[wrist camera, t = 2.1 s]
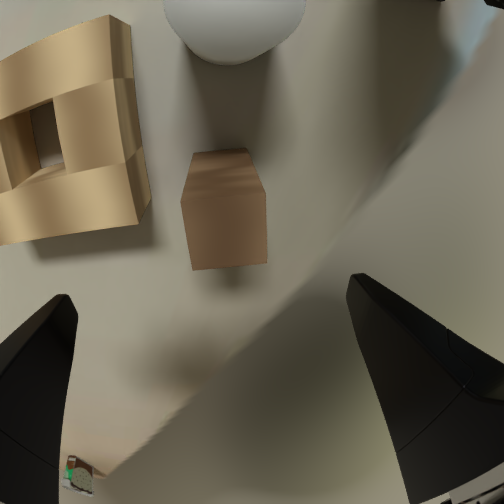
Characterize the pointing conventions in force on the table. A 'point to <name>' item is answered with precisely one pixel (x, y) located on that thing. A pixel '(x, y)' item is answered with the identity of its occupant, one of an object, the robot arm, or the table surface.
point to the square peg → (224, 210)
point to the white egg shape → (233, 26)
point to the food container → (78, 476)
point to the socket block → (72, 135)
